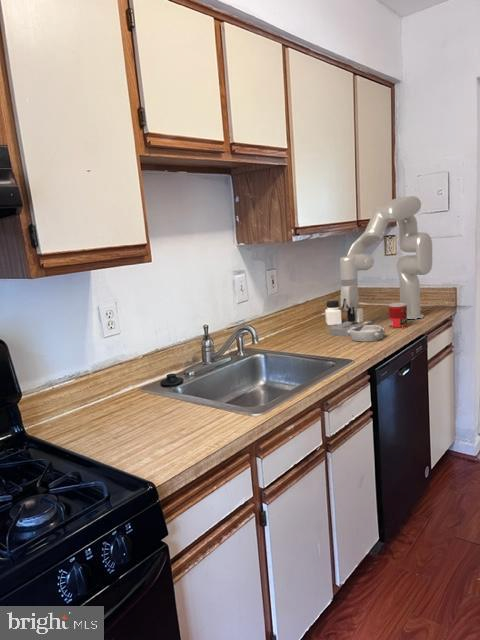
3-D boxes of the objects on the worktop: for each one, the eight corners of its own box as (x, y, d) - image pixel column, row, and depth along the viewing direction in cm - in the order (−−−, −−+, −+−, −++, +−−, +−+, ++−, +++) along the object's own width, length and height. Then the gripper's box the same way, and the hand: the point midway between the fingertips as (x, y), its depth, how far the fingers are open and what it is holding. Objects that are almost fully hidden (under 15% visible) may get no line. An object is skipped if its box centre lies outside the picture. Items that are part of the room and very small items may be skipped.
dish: (344, 341, 206) (343, 330, 205) (361, 334, 215) (360, 323, 215) (374, 344, 196) (374, 332, 195) (390, 337, 205) (390, 325, 204)
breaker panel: (350, 325, 235) (349, 319, 234) (372, 327, 227) (372, 321, 226) (329, 334, 220) (328, 328, 219) (352, 336, 212) (352, 329, 212)
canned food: (404, 329, 217) (403, 305, 215) (387, 328, 222) (386, 305, 220) (409, 325, 223) (408, 302, 221) (392, 325, 228) (392, 302, 226)
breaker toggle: (353, 320, 230) (353, 308, 229) (363, 320, 226) (362, 308, 225) (349, 322, 227) (349, 309, 226) (359, 322, 224) (358, 310, 222)
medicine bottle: (342, 324, 240) (340, 301, 238) (328, 325, 241) (326, 302, 239) (339, 321, 247) (338, 299, 245) (325, 322, 248) (324, 300, 246)
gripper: (349, 280, 228) (351, 318, 231) (334, 285, 217) (336, 324, 220) (364, 280, 223) (366, 318, 226) (348, 285, 212) (351, 325, 215)
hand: (351, 321), depth 223 cm, fingers closed
